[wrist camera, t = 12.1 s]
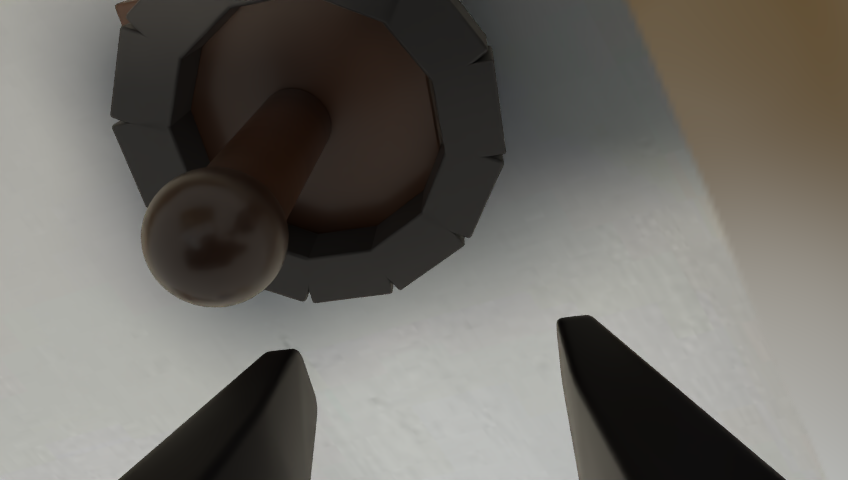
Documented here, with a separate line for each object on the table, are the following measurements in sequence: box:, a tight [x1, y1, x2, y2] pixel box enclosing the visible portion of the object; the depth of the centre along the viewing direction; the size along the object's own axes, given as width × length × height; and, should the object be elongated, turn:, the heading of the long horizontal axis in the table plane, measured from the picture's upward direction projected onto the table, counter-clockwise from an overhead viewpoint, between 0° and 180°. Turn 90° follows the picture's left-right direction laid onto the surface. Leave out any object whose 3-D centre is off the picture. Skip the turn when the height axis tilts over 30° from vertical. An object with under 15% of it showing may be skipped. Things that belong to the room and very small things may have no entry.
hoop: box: [110, 0, 506, 303], centre depth 16 cm, size 9×9×1 cm
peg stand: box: [115, 0, 443, 307], centre depth 14 cm, size 7×7×8 cm
